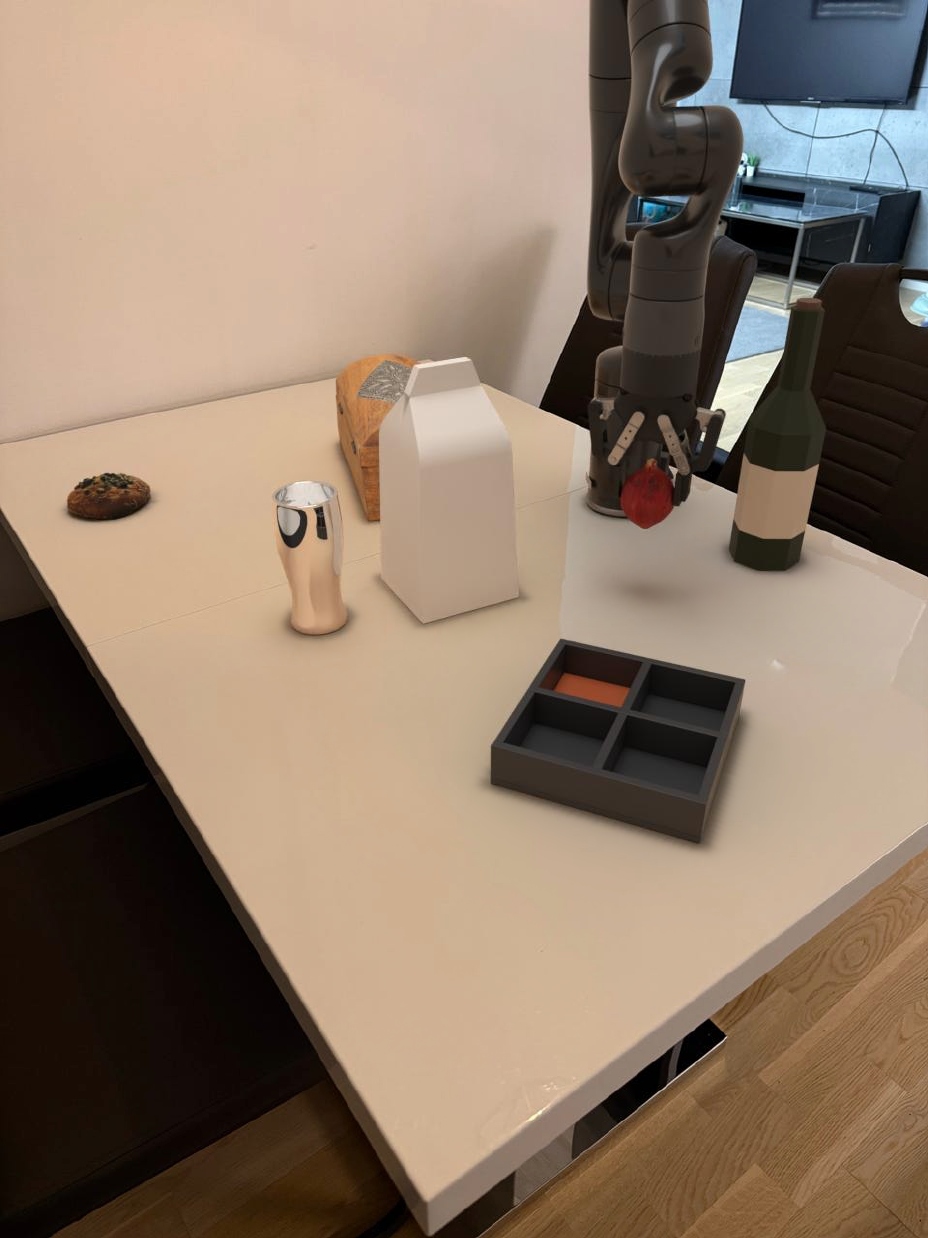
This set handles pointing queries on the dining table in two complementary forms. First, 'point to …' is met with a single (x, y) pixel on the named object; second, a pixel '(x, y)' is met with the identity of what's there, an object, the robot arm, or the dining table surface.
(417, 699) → the dining table surface
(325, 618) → the beer glass
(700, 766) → the compartment tray
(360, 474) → the wooden box
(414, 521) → the milk
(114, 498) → the bread roll
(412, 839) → the dining table surface
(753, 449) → the wine bottle
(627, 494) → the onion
